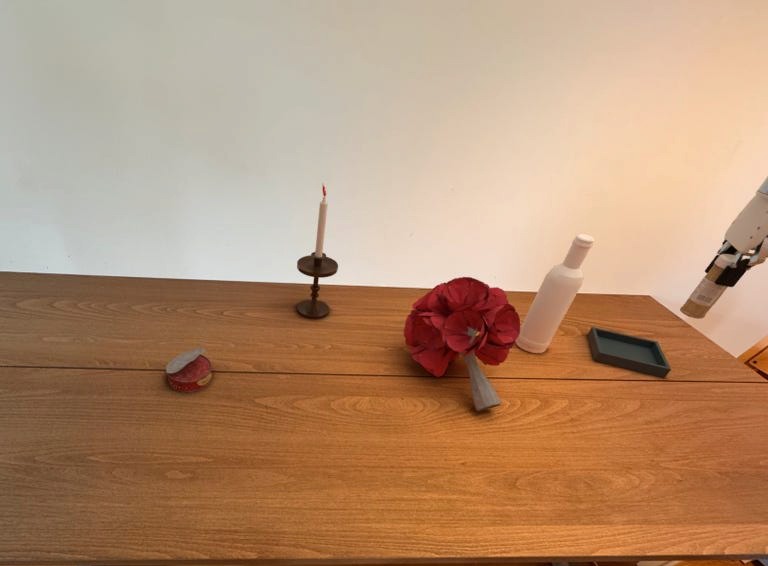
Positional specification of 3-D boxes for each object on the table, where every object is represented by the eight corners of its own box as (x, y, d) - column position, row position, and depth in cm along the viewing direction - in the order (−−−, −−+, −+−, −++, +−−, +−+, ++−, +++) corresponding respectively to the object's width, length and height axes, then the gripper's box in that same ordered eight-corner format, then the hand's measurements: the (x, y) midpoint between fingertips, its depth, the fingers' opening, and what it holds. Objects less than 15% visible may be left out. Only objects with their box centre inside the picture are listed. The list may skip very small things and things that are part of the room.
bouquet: (504, 410, 102) (461, 301, 112) (576, 380, 80) (515, 248, 89) (422, 427, 98) (385, 313, 108) (474, 401, 76) (422, 261, 86)
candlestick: (298, 322, 115) (308, 191, 93) (290, 301, 123) (298, 176, 101) (336, 319, 117) (355, 190, 95) (326, 299, 125) (341, 175, 103)
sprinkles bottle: (707, 316, 93) (753, 260, 84) (696, 321, 91) (742, 264, 82) (685, 306, 96) (727, 251, 87) (674, 310, 94) (716, 255, 86)
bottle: (551, 346, 112) (611, 238, 93) (538, 357, 108) (598, 247, 89) (522, 332, 116) (574, 227, 97) (508, 342, 112) (559, 234, 93)
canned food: (184, 407, 95) (157, 385, 87) (175, 375, 101) (150, 352, 93) (227, 382, 94) (204, 358, 86) (215, 351, 100) (193, 327, 93)
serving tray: (651, 349, 113) (657, 341, 111) (664, 378, 104) (671, 369, 102) (586, 334, 117) (591, 326, 115) (593, 360, 108) (599, 352, 106)
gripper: (841, 208, 69) (758, 303, 81) (789, 180, 82) (723, 266, 93) (786, 200, 71) (711, 294, 83) (743, 174, 84) (683, 259, 95)
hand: (718, 278), depth 88 cm, fingers closed on sprinkles bottle, 4 cm apart
